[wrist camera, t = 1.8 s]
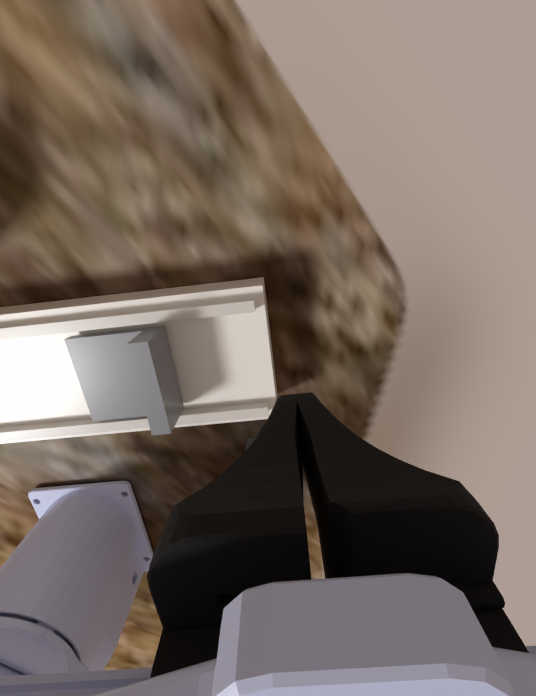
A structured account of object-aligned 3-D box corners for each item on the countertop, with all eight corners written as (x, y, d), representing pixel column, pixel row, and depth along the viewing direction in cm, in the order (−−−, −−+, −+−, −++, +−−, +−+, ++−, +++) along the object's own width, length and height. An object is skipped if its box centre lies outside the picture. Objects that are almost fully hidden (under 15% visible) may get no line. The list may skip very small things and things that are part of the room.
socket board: (263, 277, 19) (262, 287, 16) (277, 394, 22) (278, 424, 19) (-50, 312, 20) (-115, 329, 17) (0, 420, 23) (-47, 454, 20)
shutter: (164, 325, 17) (147, 341, 15) (184, 407, 19) (171, 433, 16) (70, 335, 17) (38, 353, 15) (98, 415, 19) (72, 442, 17)
